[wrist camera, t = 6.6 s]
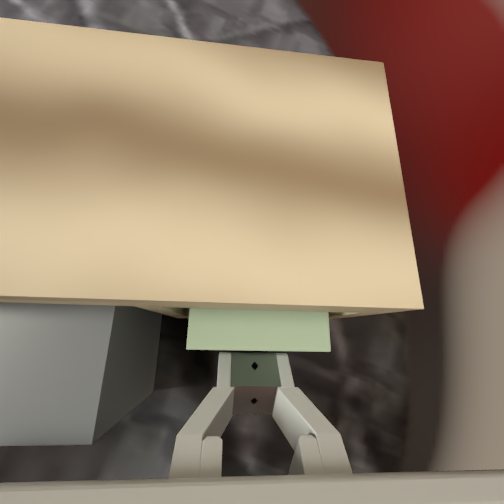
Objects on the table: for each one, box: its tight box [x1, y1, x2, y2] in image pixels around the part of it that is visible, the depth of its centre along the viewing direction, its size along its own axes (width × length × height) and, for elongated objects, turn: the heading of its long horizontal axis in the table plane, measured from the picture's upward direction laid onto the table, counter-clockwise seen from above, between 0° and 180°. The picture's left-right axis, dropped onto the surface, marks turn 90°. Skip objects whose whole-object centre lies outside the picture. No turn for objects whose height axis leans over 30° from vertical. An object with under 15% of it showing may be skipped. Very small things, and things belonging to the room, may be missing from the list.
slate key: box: [0, 302, 162, 446], centre depth 12 cm, size 7×5×7 cm
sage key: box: [186, 308, 331, 352], centre depth 13 cm, size 7×5×7 cm
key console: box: [0, 18, 424, 319], centre depth 12 cm, size 9×23×10 cm, turn 89°
